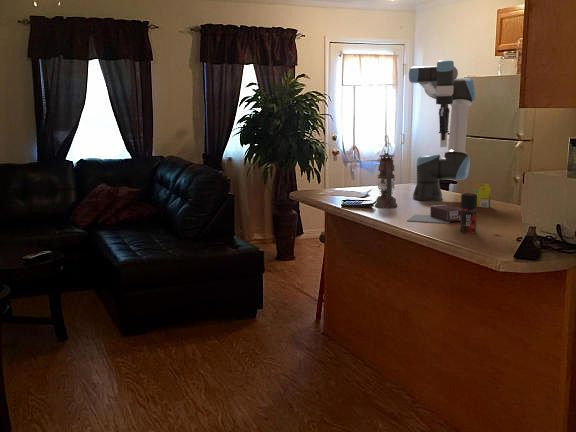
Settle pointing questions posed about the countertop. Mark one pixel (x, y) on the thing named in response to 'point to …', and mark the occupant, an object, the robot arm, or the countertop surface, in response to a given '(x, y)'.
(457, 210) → the supplement box
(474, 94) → the robot arm
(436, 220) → the mat
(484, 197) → the crayon box
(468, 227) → the deodorant
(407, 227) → the countertop surface
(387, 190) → the lantern
